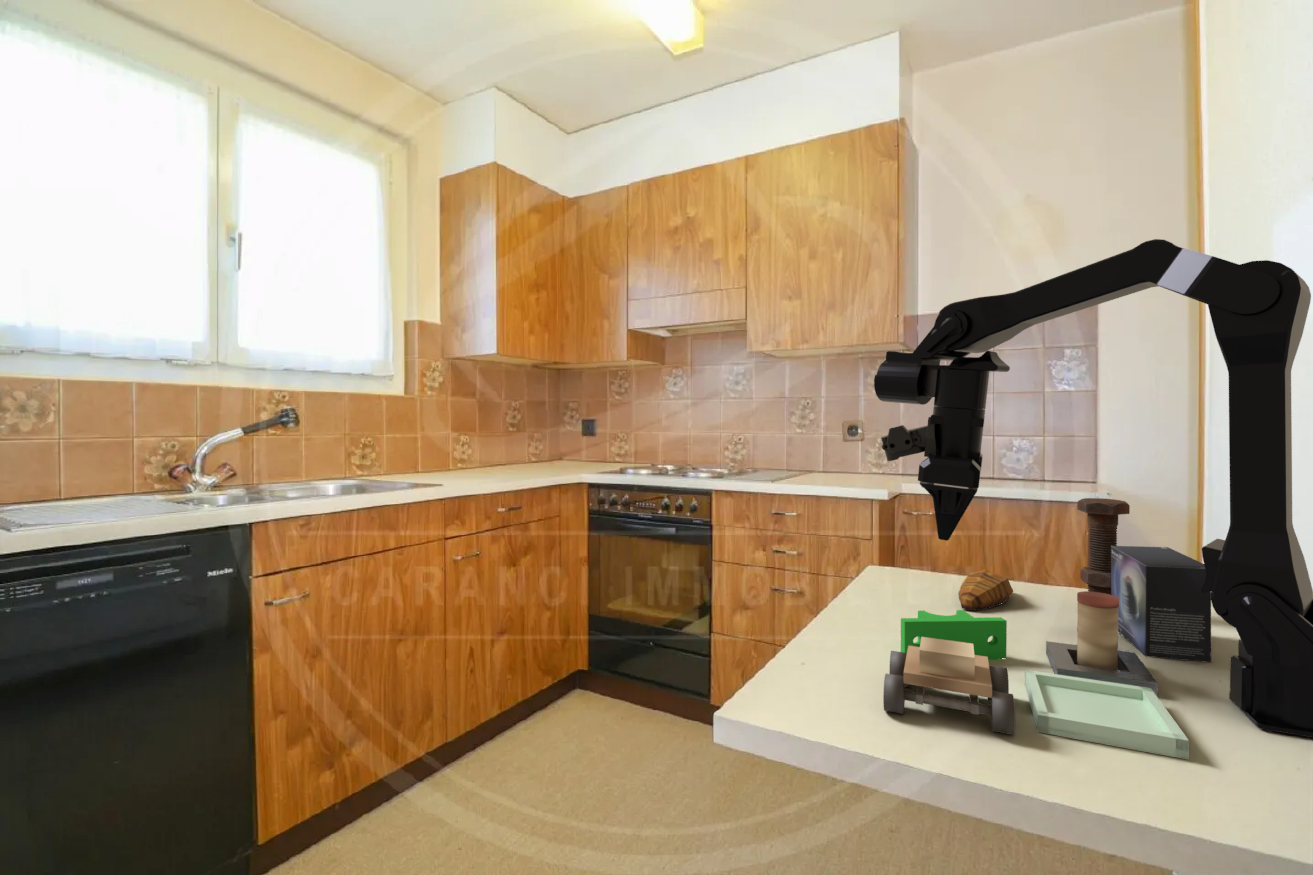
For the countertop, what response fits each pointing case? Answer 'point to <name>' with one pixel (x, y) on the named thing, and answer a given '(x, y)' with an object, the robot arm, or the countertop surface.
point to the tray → (1104, 713)
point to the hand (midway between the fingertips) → (945, 531)
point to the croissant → (984, 590)
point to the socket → (1128, 665)
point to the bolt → (1101, 540)
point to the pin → (1097, 630)
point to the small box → (1162, 602)
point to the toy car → (950, 681)
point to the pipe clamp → (957, 632)
